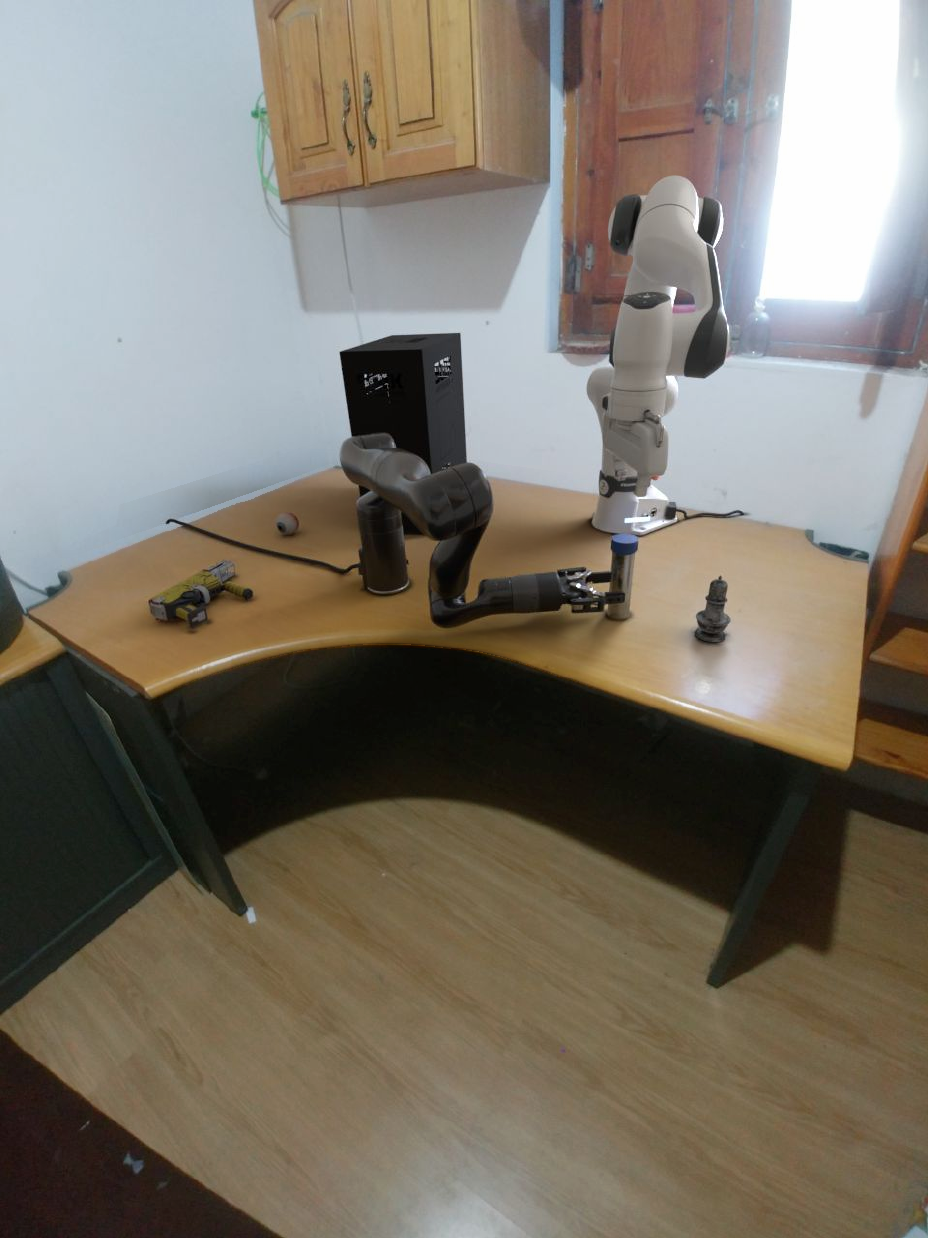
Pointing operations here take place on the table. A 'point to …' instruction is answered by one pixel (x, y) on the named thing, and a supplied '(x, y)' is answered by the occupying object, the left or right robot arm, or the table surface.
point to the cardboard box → (409, 397)
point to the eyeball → (287, 523)
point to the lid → (624, 544)
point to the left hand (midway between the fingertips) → (617, 586)
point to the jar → (621, 584)
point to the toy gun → (196, 595)
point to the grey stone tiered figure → (713, 613)
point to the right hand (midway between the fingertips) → (629, 487)
